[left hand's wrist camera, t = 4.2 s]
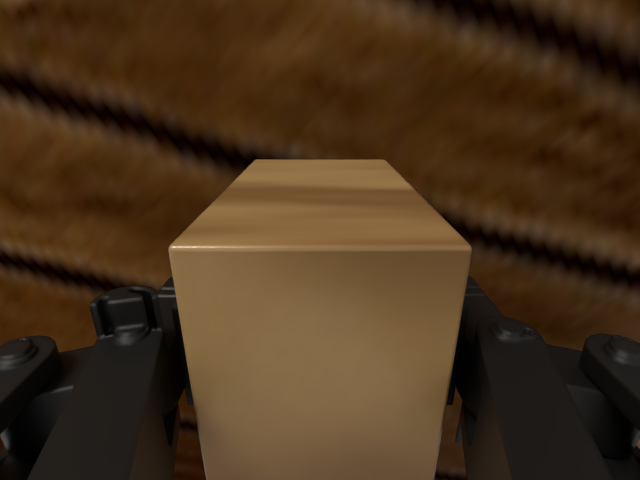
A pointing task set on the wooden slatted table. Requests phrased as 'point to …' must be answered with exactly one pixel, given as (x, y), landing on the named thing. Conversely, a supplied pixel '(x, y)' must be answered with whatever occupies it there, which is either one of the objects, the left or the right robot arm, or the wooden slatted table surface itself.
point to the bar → (320, 323)
